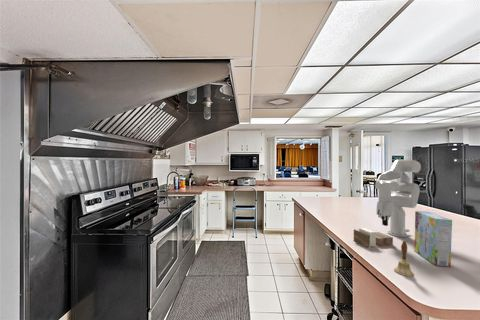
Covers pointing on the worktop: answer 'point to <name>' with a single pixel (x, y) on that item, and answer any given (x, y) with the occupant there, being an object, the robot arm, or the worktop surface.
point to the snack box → (433, 238)
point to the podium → (380, 239)
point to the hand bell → (403, 263)
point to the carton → (371, 235)
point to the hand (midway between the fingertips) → (385, 225)
